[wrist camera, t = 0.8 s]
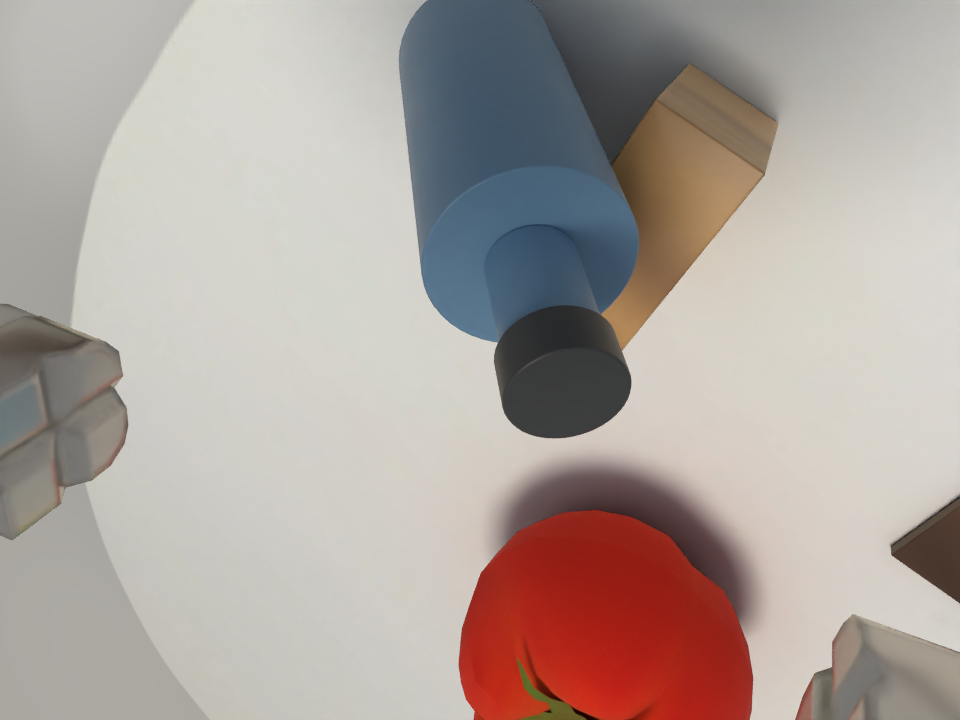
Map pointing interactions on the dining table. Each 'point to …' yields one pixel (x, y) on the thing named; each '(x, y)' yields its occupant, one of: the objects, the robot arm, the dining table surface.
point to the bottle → (517, 209)
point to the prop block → (684, 184)
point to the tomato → (601, 629)
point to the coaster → (935, 550)
